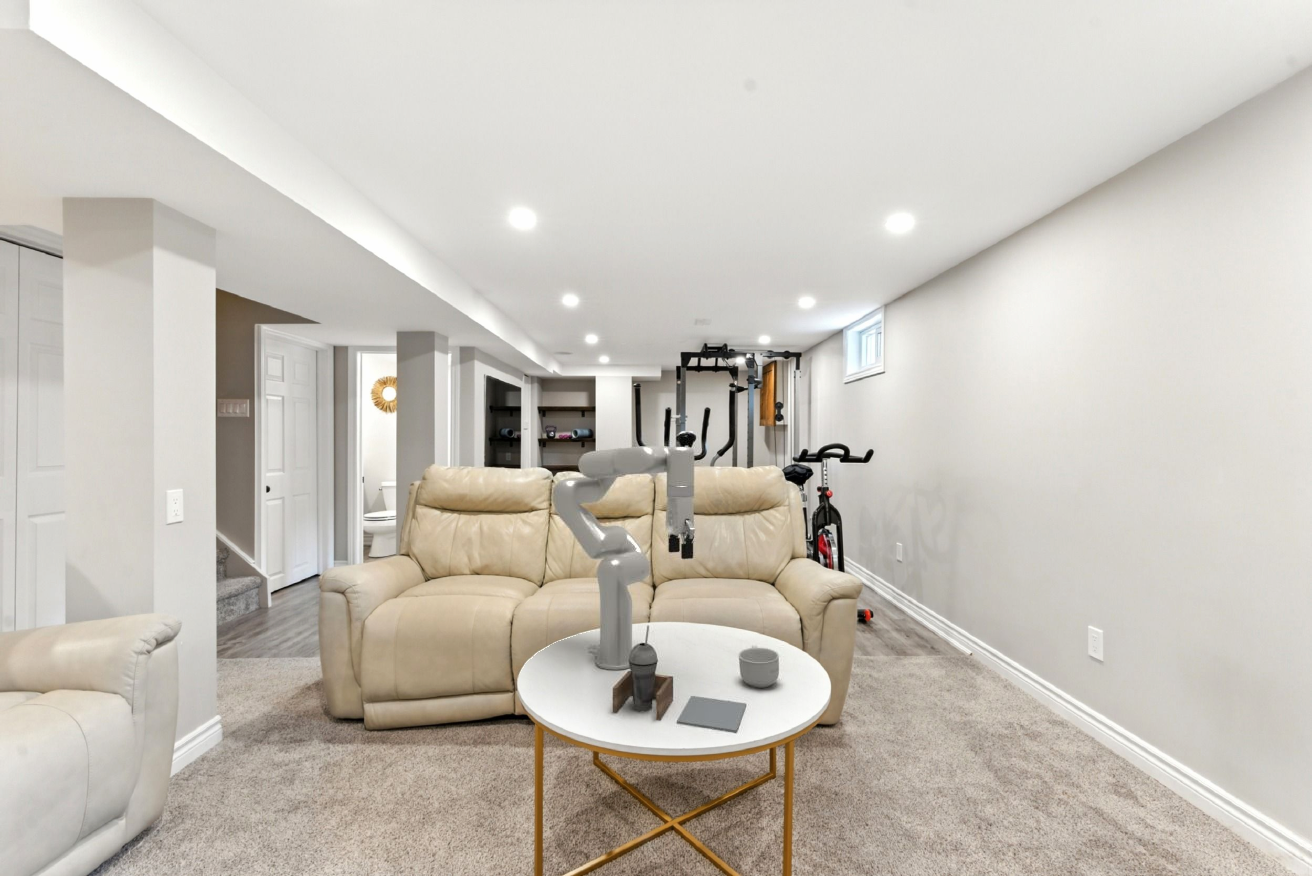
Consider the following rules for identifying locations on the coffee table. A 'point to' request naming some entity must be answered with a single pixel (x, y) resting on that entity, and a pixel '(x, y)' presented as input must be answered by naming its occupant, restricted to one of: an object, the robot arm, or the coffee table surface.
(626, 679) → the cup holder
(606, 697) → the coffee table surface
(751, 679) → the teacup
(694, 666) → the coffee table surface
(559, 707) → the coffee table surface
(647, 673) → the beverage cup
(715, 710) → the slate mat
